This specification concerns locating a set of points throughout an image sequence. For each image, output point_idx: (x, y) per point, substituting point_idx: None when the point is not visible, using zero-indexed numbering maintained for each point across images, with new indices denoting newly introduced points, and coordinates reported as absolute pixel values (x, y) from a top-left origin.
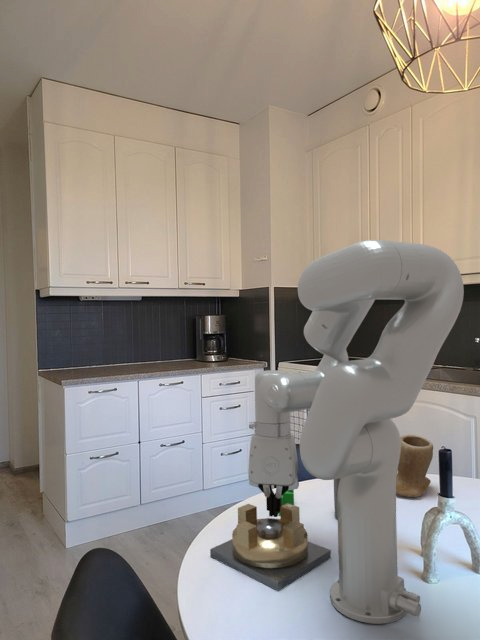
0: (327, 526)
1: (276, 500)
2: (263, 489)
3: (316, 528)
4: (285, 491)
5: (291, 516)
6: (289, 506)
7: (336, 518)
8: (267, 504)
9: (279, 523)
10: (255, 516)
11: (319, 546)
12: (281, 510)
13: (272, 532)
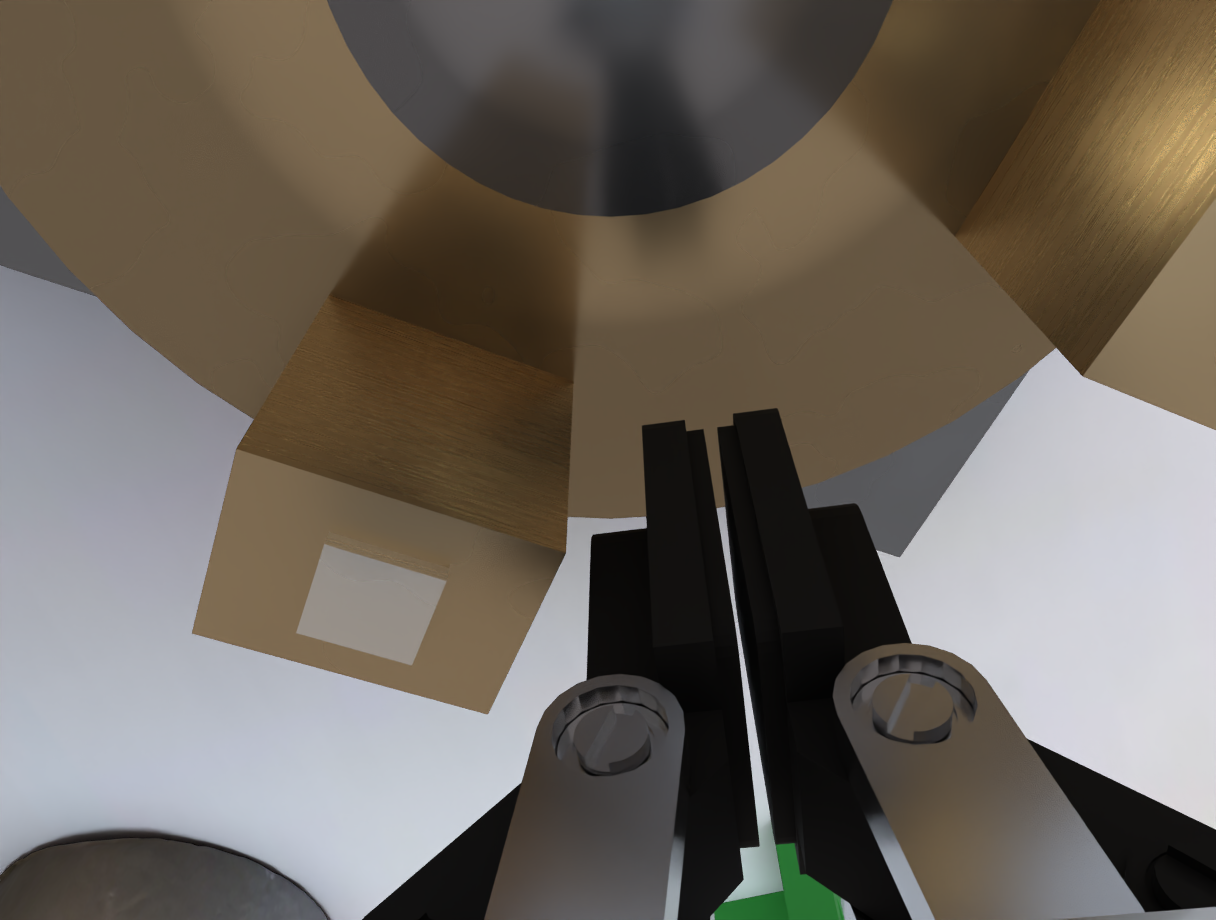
0: (307, 767)
1: (657, 640)
2: (1071, 821)
3: (383, 710)
4: (431, 880)
5: (290, 389)
6: (356, 578)
7: (287, 889)
8: (860, 564)
9: (397, 26)
10: (1026, 254)
11: (34, 264)
12: (534, 495)
13: None
